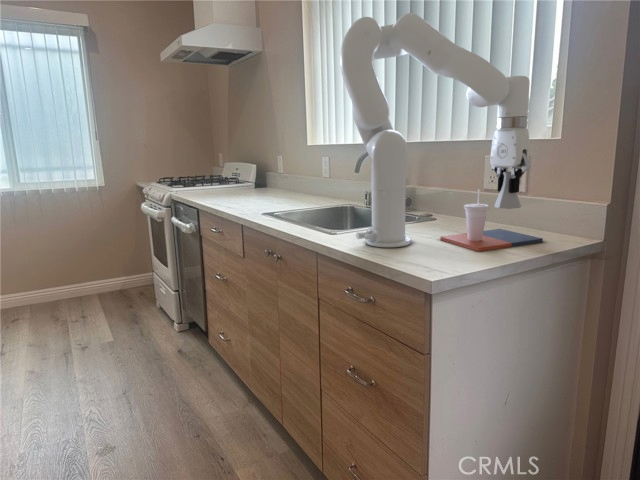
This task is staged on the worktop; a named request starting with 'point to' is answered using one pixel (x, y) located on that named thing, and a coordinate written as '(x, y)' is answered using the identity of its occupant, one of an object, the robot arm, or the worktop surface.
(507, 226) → the worktop surface
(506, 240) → the sorting board
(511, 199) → the flask
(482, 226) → the smoothie
